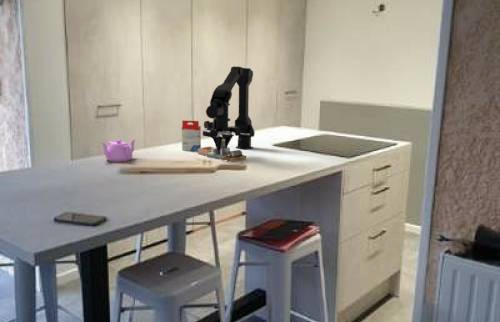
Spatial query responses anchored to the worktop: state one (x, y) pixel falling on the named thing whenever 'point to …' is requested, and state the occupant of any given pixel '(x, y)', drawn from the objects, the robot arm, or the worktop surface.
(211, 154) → the grey flat block
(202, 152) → the salmon pink square tray
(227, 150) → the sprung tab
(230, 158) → the trough
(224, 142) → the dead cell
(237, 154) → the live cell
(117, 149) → the teapot
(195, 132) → the ink box
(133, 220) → the worktop surface
